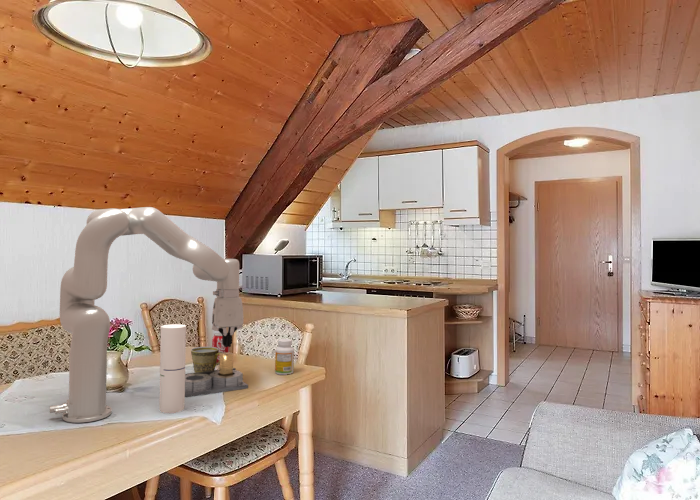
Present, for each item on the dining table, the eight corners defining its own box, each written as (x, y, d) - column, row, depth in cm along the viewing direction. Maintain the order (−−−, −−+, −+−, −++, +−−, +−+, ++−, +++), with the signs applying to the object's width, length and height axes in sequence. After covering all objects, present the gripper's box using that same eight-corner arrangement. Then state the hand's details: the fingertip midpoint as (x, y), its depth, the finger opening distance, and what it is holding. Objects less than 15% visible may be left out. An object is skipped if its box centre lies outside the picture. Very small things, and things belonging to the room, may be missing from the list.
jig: (183, 397, 164) (183, 384, 164) (172, 387, 175) (173, 375, 175) (247, 388, 176) (248, 376, 176) (234, 379, 187) (234, 367, 187)
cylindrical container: (176, 414, 148) (178, 328, 148) (154, 412, 150) (155, 327, 149) (188, 406, 155) (190, 324, 155) (167, 404, 157) (169, 323, 156)
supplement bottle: (280, 369, 202) (281, 337, 202) (296, 371, 199) (297, 339, 199) (271, 374, 195) (272, 340, 195) (287, 376, 193) (288, 342, 193)
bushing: (221, 384, 175) (222, 356, 175) (217, 381, 179) (217, 353, 179) (234, 383, 178) (235, 354, 177) (229, 379, 181) (230, 351, 181)
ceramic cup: (185, 378, 187) (185, 351, 187) (199, 371, 196) (200, 345, 196) (217, 381, 184) (217, 353, 183) (230, 374, 193) (230, 348, 193)
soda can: (232, 362, 212) (233, 333, 212) (220, 365, 206) (220, 336, 206) (220, 360, 216) (221, 331, 216) (207, 363, 210) (208, 334, 210)
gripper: (210, 296, 171) (209, 350, 171) (252, 294, 179) (251, 346, 179) (203, 293, 177) (202, 346, 177) (244, 292, 185) (243, 342, 185)
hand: (227, 346), depth 178 cm, fingers closed
